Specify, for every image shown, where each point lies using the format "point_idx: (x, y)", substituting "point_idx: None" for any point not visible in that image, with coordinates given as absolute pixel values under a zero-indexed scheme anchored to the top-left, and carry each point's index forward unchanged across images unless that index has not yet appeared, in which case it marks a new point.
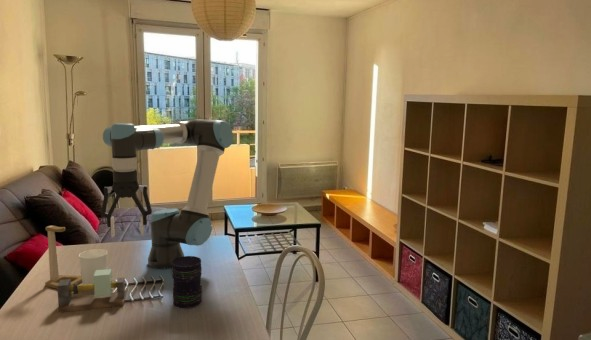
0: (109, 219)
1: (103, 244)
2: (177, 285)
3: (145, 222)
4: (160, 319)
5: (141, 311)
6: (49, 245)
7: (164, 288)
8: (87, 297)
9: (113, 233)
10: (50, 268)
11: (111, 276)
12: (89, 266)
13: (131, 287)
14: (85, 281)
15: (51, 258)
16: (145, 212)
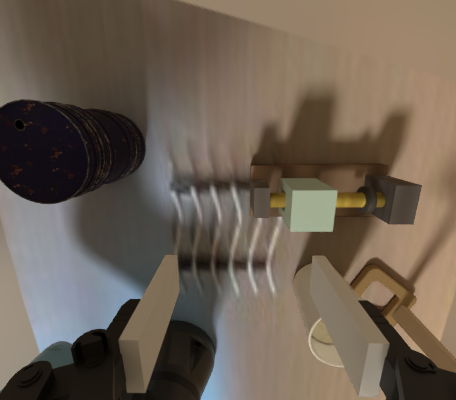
0: (389, 347)
1: None
2: (106, 122)
3: (125, 312)
4: (166, 72)
5: (210, 124)
6: None
7: (170, 226)
8: None
9: (320, 266)
10: (426, 328)
11: (286, 213)
12: None
13: (240, 247)
14: (339, 273)
15: (443, 349)
16: (75, 387)
